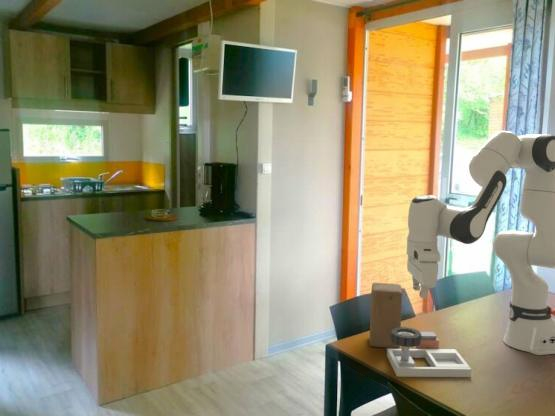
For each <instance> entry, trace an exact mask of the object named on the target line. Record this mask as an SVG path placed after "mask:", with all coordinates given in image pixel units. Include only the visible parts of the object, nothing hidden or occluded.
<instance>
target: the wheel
mask: <svg viewBox="0 0 555 416" xmlns="http://www.w3.org/2000/svg"><path fill="white" fill-rule="evenodd" d="M420 332H421V331H419V330H418V329H415V328H412V327H406V326H401V327H400V328H399V327H398V328H394V329H392V330H391V341H392V342H393V343H394V344H396V345H399V347H401V346H404V347H405V346H406V347H409V348H414V347H415V348H416V346H418V345H420V343H421V333H420Z"/></svg>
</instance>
